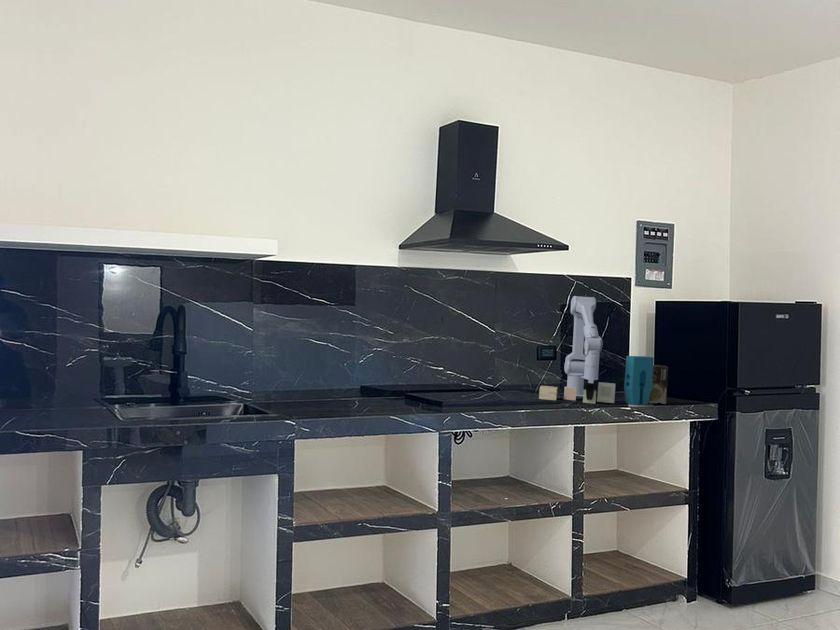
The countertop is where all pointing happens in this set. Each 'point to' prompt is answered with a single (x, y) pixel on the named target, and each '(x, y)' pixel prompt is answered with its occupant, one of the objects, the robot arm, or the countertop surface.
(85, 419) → the countertop surface
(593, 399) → the sage cube
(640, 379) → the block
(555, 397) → the base block
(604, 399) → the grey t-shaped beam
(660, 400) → the coffee box
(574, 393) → the pink cube
